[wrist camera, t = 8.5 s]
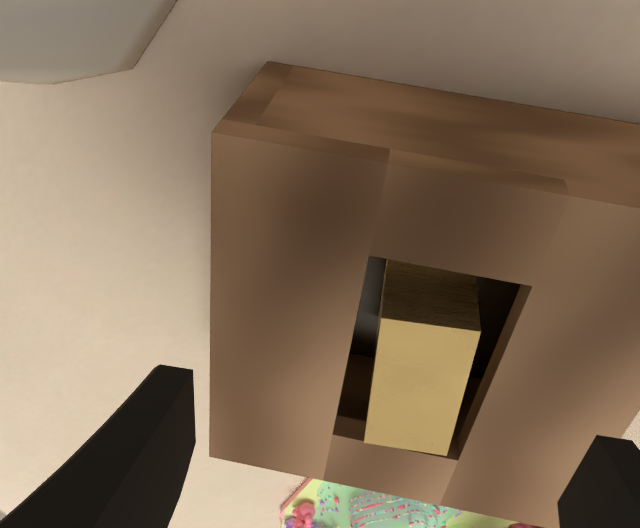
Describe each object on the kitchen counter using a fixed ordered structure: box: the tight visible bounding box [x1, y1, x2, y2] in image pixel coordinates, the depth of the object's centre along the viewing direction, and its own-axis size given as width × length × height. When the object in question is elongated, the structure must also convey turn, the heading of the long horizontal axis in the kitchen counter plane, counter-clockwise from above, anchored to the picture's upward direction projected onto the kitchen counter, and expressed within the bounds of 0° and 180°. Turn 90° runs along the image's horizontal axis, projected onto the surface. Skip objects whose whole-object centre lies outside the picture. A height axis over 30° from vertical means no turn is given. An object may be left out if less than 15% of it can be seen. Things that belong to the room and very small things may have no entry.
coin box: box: [209, 61, 640, 528], centre depth 18 cm, size 12×12×6 cm
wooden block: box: [364, 259, 481, 456], centre depth 19 cm, size 2×5×6 cm, turn 177°
